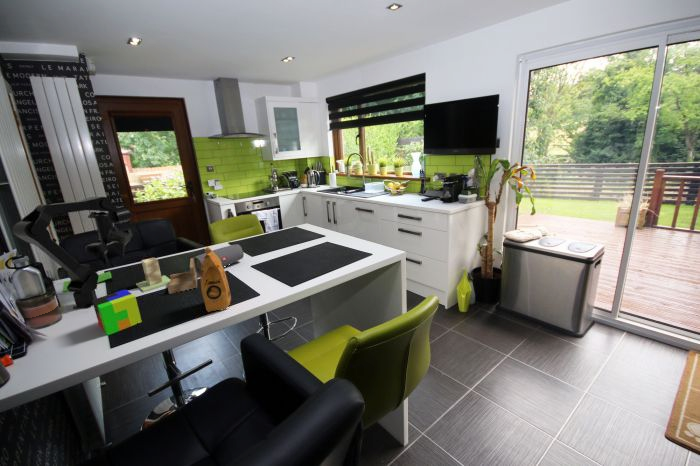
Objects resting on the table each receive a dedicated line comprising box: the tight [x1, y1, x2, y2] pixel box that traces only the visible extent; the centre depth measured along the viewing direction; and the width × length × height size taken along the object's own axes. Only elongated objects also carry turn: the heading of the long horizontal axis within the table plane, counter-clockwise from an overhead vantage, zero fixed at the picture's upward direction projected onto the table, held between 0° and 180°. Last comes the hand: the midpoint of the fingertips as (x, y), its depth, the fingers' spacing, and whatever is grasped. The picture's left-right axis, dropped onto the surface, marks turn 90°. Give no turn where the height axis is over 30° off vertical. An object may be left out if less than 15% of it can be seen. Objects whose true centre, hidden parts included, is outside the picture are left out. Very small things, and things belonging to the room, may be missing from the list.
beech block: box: [141, 257, 162, 286], centre depth 142 cm, size 5×5×11 cm
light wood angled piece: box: [166, 257, 198, 295], centre depth 139 cm, size 11×13×10 cm
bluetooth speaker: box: [193, 243, 245, 274], centre depth 159 cm, size 23×9×10 cm, turn 143°
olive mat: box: [135, 274, 171, 293], centre depth 144 cm, size 12×12×1 cm
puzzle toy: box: [92, 289, 143, 336], centre depth 110 cm, size 10×10×10 cm
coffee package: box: [200, 246, 232, 313], centre depth 118 cm, size 10×12×22 cm
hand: (114, 261), depth 137 cm, fingers open, 9 cm apart
